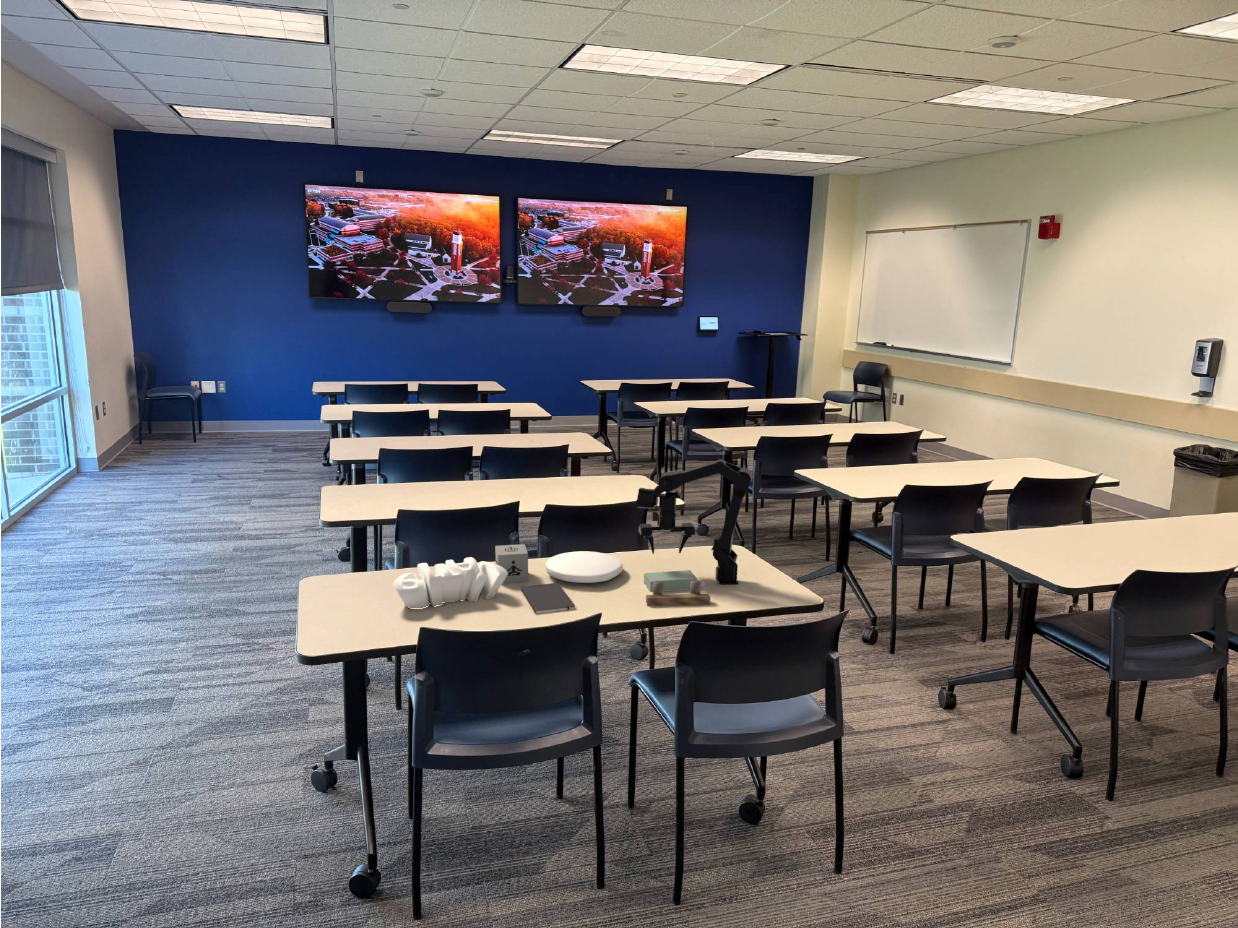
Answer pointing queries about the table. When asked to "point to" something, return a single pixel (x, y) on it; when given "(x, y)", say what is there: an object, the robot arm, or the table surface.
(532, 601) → the notebook
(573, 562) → the plate
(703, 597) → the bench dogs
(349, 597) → the table surface
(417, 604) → the white wavy slab sculpture
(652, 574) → the painted plate block
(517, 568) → the icon cube
